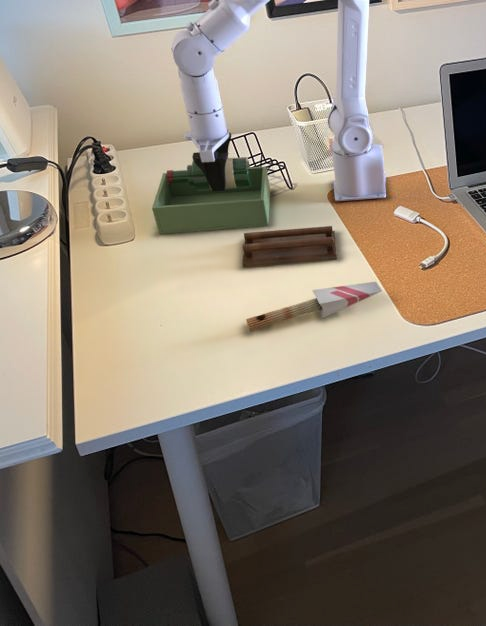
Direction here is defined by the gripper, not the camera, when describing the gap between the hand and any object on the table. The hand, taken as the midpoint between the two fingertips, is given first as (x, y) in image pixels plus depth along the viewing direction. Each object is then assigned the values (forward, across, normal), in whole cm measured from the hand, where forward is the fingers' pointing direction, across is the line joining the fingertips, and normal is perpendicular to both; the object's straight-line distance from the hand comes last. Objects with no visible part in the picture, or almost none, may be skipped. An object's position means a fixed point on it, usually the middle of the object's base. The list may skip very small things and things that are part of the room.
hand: (220, 182), depth 128 cm
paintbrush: (+6, +33, +15) cm, 37 cm away
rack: (+6, +16, +12) cm, 20 cm away
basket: (+6, 0, -2) cm, 6 cm away
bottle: (+1, 0, -2) cm, 2 cm away
